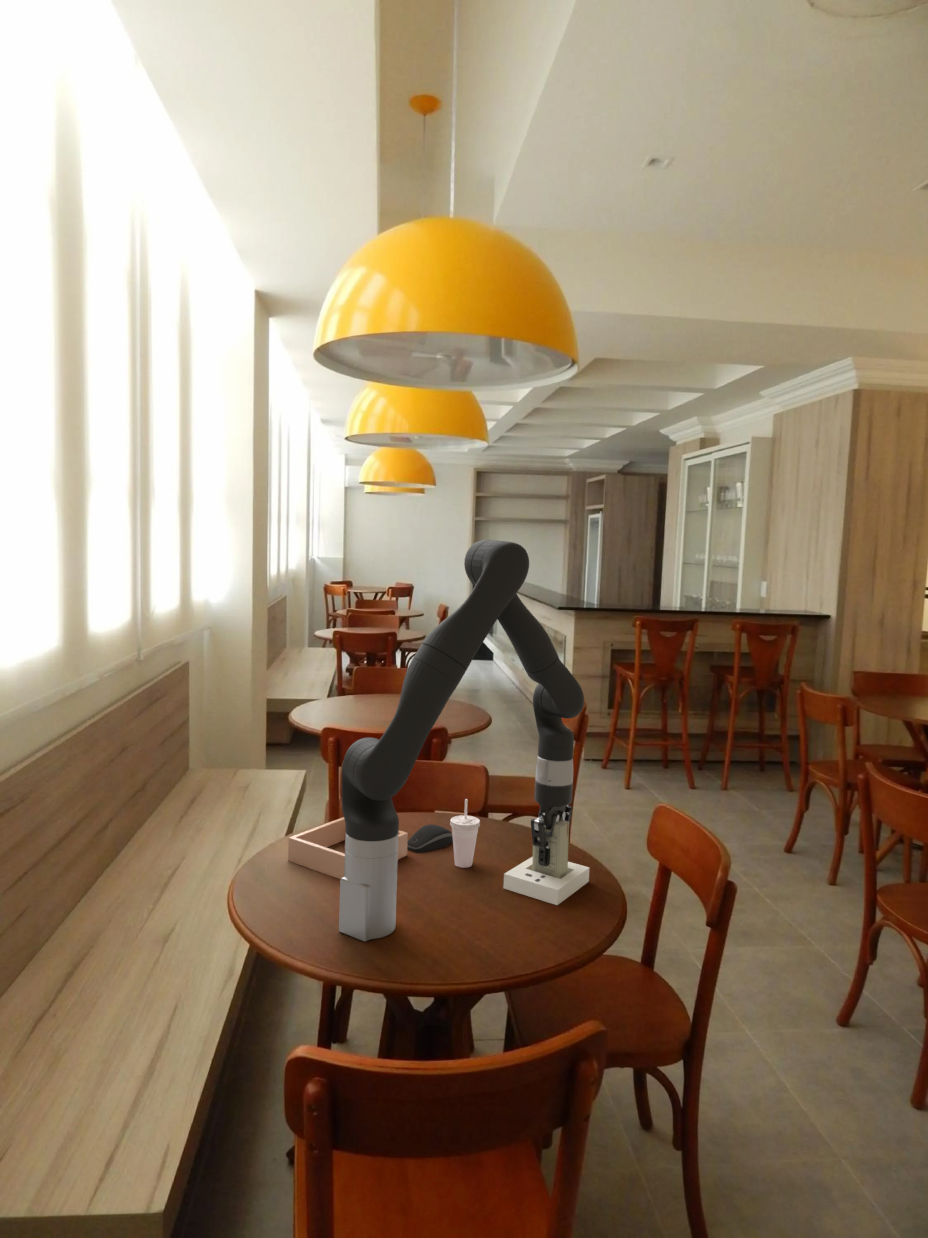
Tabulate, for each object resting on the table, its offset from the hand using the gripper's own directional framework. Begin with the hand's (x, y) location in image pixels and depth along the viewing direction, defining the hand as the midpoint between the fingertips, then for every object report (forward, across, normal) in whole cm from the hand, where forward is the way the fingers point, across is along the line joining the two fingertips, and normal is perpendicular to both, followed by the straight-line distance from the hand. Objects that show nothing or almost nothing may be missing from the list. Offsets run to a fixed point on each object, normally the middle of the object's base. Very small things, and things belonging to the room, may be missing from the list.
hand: (549, 861), depth 160 cm
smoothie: (+5, -3, +19) cm, 20 cm away
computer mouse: (+5, +2, +32) cm, 32 cm away
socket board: (+5, -1, 0) cm, 5 cm away
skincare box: (+4, 0, 0) cm, 4 cm away
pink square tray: (+5, -16, +40) cm, 43 cm away
